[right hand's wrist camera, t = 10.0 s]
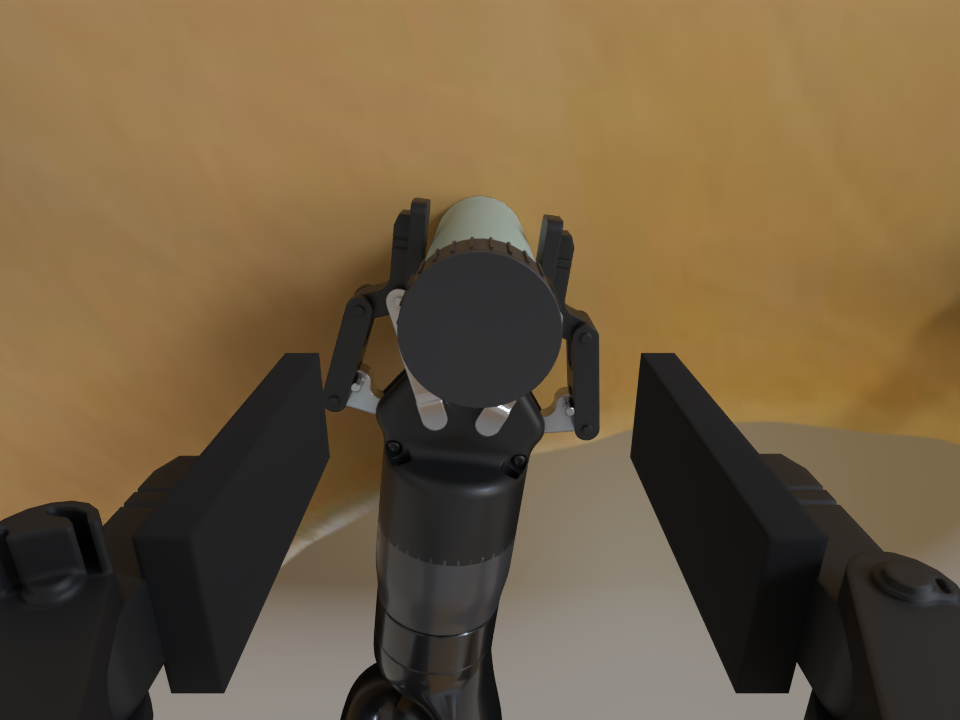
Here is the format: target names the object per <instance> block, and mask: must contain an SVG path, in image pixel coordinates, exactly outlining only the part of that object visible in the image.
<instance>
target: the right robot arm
mask: <svg viewBox="0 0 960 720" xmlns="http://www.w3.org/2000/svg"><path fill="white" fill-rule="evenodd" d="M329 458H330V455H329V445H328V436H327V426H326V417H325V407H324V398H323V388H322V379H321V369H320V360H319V353H285V354H284V356H283V357H282V358H281V359H280V360H279V362H278V363H277V364H276V365H275V366H274V368H273V369H272V370H271V371H270V372H269V374H268V375H267V376H266V377H265V378H264V379H263V381H262V382H261V383H260V384H259V385H258V387H257V388H256V389H255V390H254V391H253V393H252V394H251V395H250V396H249V397H248V399H247V400H246V401H245V402H244V403H243V405H242V406H241V407H240V408H239V409H238V410H237V412H236V413H235V414H234V415H233V416H232V418H231V419H230V420H229V421H228V422H227V424H226V425H225V426H224V427H223V428H222V430H221V431H220V432H219V433H218V434H217V436H216V437H215V438H214V439H213V440H212V441H211V443H210V444H209V445H208V446H207V447H206V449H205V450H204V451H203V452H202V453H201V455H200V456H179V457H177V458H175V459H174V460H172V461H170V462H169V463H167V464H165V465H163V466H162V467H160V468H158V469H157V470H155V471H154V472H153V473H152V474H151V475H150V476H149V477H148V478H147V479H146V480H145V482H144V483H143V484H142V485H141V486H140V487H139V488H138V492H134V493H133V494H132V495H131V497H130V498H129V499H128V500H127V501H126V502H125V503H124V507H120V508H119V509H118V511H117V512H116V513H115V514H114V515H113V516H112V517H111V518H110V519H109V520H108V521H107V522H106V523H105V524H104V526H103V525H102V522H101V518H100V515H99V511H98V509H96V508H95V507H93V506H92V505H91V504H89V503H84V502H77V501H65V502H55V503H49V504H45V505H41V506H37V507H33V508H30V509H26V510H24V511H22V512H19V513H17V514H15V515H12V516H10V517H8V518H6V519H4V520H2V521H0V720H153V710H152V703H151V699H150V695H149V692H148V690H149V688H150V687H151V685H152V683H153V682H154V680H155V678H156V676H157V675H158V673H159V671H160V670H161V668H162V666H163V664H164V667H165V671H166V674H167V678H168V682H169V686H170V690H171V693H224V692H225V690H226V688H227V686H228V683H229V681H230V679H231V677H232V674H233V672H234V670H235V668H236V665H237V663H238V661H239V659H240V656H241V654H242V652H243V650H244V648H245V645H246V643H247V641H248V639H249V636H250V634H251V632H252V630H253V627H254V625H255V623H256V621H257V619H258V616H259V614H260V612H261V610H262V607H263V605H264V603H265V601H266V598H267V596H268V594H269V592H270V590H271V587H272V585H273V583H274V581H275V578H276V576H277V574H278V572H279V569H280V567H281V565H282V563H283V560H284V558H285V556H286V554H287V552H288V549H289V547H290V545H291V543H292V540H293V538H294V536H295V534H296V531H297V529H298V527H299V525H300V522H301V520H302V518H303V516H304V514H305V511H306V509H307V507H308V505H309V502H310V500H311V498H312V496H313V493H314V491H315V489H316V487H317V485H318V482H319V480H320V478H321V476H322V473H323V471H324V469H325V467H326V464H327V462H328V460H329ZM630 458H631V460H632V462H633V464H634V467H635V469H636V471H637V473H638V476H639V478H640V480H641V482H642V484H643V487H644V489H645V491H646V493H647V496H648V498H649V500H650V502H651V505H652V507H653V509H654V511H655V514H656V516H657V518H658V520H659V522H660V525H661V527H662V529H663V531H664V534H665V536H666V538H667V540H668V543H669V545H670V547H671V549H672V552H673V554H674V556H675V558H676V560H677V563H678V565H679V567H680V569H681V572H682V574H683V576H684V578H685V581H686V583H687V585H688V587H689V590H690V592H691V594H692V596H693V598H694V601H695V603H696V605H697V607H698V610H699V612H700V614H701V616H702V618H703V621H704V623H705V625H706V627H707V630H708V632H709V634H710V636H711V639H712V641H713V643H714V645H715V648H716V650H717V652H718V654H719V657H720V659H721V661H722V663H723V665H724V668H725V670H726V672H727V674H728V677H729V679H730V681H731V683H732V686H733V688H734V690H735V692H736V693H789V690H790V686H791V682H792V678H793V674H794V671H795V667H796V663H798V665H799V666H800V668H801V670H802V671H803V673H804V675H805V677H806V678H807V680H808V682H809V683H810V685H811V687H812V692H811V695H810V699H809V703H808V706H807V710H806V713H805V717H804V720H960V588H959V587H958V586H957V585H956V584H955V583H954V582H953V581H951V580H950V579H949V578H947V577H946V576H945V575H943V574H942V573H941V572H939V571H938V570H936V569H934V568H932V567H930V566H928V565H926V564H924V563H922V562H920V561H918V560H916V559H912V558H909V557H906V556H902V555H899V554H896V553H891V552H884V551H883V550H882V549H881V548H880V547H879V546H878V545H877V544H876V543H875V542H874V541H873V540H872V539H871V538H870V536H869V535H868V534H867V533H866V532H865V531H864V530H863V529H862V528H861V527H860V526H859V525H858V524H857V523H856V522H855V520H854V519H853V518H852V517H851V516H850V515H849V514H848V513H847V512H846V511H845V510H844V509H843V508H842V507H841V506H840V505H837V504H836V500H835V499H834V498H833V497H832V496H831V495H830V494H829V493H828V492H827V491H826V490H823V487H822V485H821V484H820V483H819V482H818V481H817V480H816V479H815V478H814V477H813V476H812V475H811V474H810V473H809V471H808V470H807V469H805V468H804V467H802V466H800V465H799V464H797V463H795V462H794V461H792V460H790V459H789V458H787V457H785V456H783V455H782V454H759V453H758V452H757V451H756V450H755V449H754V447H753V446H752V445H751V444H750V443H749V442H748V440H747V439H746V438H745V437H744V436H743V434H742V433H741V432H740V431H739V430H738V428H737V427H736V426H735V425H734V424H733V422H732V421H731V420H730V419H729V418H728V416H727V415H726V414H725V413H724V412H723V410H722V409H721V408H720V407H719V406H718V405H717V403H716V402H715V401H714V400H713V399H712V397H711V396H710V395H709V394H708V393H707V391H706V390H705V389H704V388H703V387H702V385H701V384H700V383H699V382H698V381H697V379H696V378H695V377H694V376H693V375H692V374H691V372H690V371H689V370H688V369H687V368H686V366H685V365H684V364H683V363H682V362H681V360H680V359H679V358H678V357H677V356H676V354H675V353H641V360H640V369H639V379H638V388H637V398H636V407H635V417H634V426H633V436H632V446H631V455H630Z"/></svg>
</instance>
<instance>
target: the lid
mask: <svg viewBox="0 0 960 720" xmlns="http://www.w3.org/2000/svg"><path fill="white" fill-rule="evenodd" d="M406 289H408V290H405V292H404V294H403V297H402V299H401V301H400V303H399V306H401V308H400V311H399V316H398V319H397V321H396V324H397V337H398V344H399V349H400V352H401V355H402V358H403V360H404V362H405V364H406V366H407V368H408V370H409V371H410V372H411V374H412V375H413V377H414V378H415V379H416V380H417V381H418V382H419V383H420V385H422V386H423V387H424V388H425V389H426V390H427V391H429V392H430V393H432V394H433V395H435V396H436V397H438V398H440V399H442V400H444V401H446V402H449V403H452V404H455V405H459V406H463V407H469V408H490V407H497V406H501V405H505V404H508V403H510V402H513V401H516V400H518V399H519V398H521V397H523V396H525V395H526V394H528V393H529V392H531V391H532V390H533V389H534V388H536V387H537V386H538V385H539V384H540V383H541V382H542V381H543V380H544V378H545V377H546V376H547V375H548V373H549V372H550V370H551V369H552V367H553V365H554V363H555V361H556V359H557V357H558V353H559V350H560V347H561V341H562V328H563V323H562V318H561V313H560V310H561V306H560V303H559V301H558V299H557V296H556V294H555V293H553V292H555V290H554V287H553V285H552V283H551V281H550V278H549V277H546V276H545V274H544V273H543V270H542V268H541V265H540V263H539V262H537V263H536V262H535V261H534V260H533V259H532V258H531V257H529V256H528V254H527V251H525V250H524V251H521V250H520V249H518V248H516V247H514V246H512V245H511V243H510V242H507V243H505V242H501V241H497V240H493V238H492V237H489V239H485V238H477V239H474V237H470V239H467V240H462V241H458V242H456V241H455V240H454V241H452V244H450V245H447V246H445V247H443V248H442V249H440V250H439V248H437V249H436V250H435V253H434V254H433V255H431V256H430V257H429V258H428V259H427V260H426V261H425V260H423V261H422V262H421V265H420V267H419V269H418V271H417V272H416V273H415V274H412V276H411V278H410V280H409V282H408V285H407V287H406Z"/></svg>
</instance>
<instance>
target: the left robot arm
mask: <svg viewBox="0 0 960 720" xmlns="http://www.w3.org/2000/svg"><path fill="white" fill-rule="evenodd" d="M429 214H430V199H423V198H414V199H413V201H412V203H411V210H404V209H403V210H402V211H401V213H400V214H399V216H398V218H397V220H396V222H395V224H394V232H393V248H392V260H391V274H390V280H388V281H387V282H385V283H382V284H377V285H369V284H366V285H362V286H360V287H359V288H358V289H357V291H356V292H355V295H354V297H352V298H351V299H350V300H349V302H348V303H347V305H346V309H345V312H344V316H343V320H342V324H341V327H340V331H339V335H338V339H337V342H336V346H335V350H334V354H333V357H332V361H331V365H330V369H329V373H328V376H327V380H326V384H325V388H324V391H323V398H324V407H325V408H326V409H327V410H329V411H332V412H339V411H341V410H343V409H344V408H345V406H349V407H352V408H355V409H359V410H362V411H365V412H369V413H372V414H376V419H377V421H378V423H379V425H380V427H381V429H382V432H383V435H384V450H383V463H382V477H381V490H380V503H379V517H378V531H377V543H376V569H377V578H378V590H377V602H376V615H375V628H374V655H375V658H376V662H377V663H375V664H373V665H372V666H370V667H369V668H367V669H366V670H365V671H364V672H363V673H362V674H361V675H360V676H359V677H358V678H357V680H356V681H355V683H354V684H353V686H352V688H351V689H350V692H349V694H348V696H347V699H346V702H345V705H344V708H343V711H342V715H341V719H340V720H502V715H501V707H500V701H499V696H498V691H497V687H496V682H495V676H494V671H493V663H492V654H491V646H492V640H493V634H494V628H495V622H496V617H497V611H498V605H499V600H500V596H501V593H502V590H503V587H504V585H505V582H506V579H507V576H508V572H509V568H510V563H511V557H512V551H513V546H514V540H515V535H516V529H517V523H518V518H519V512H520V506H521V500H522V495H523V490H524V484H525V478H526V473H527V467H528V461H529V457H530V454H531V451H532V450H533V448H534V447H535V445H536V444H537V443H538V442H539V441H540V440H541V438H542V436H543V434H544V433H553V432H568V431H575V434H576V435H577V437H578V438H580V439H582V440H591V439H593V438H595V437H596V436H597V435H598V433H599V335H598V332H597V330H596V328H595V327H594V325H593V323H592V321H591V319H590V318H589V316H588V314H587V313H585V312H584V311H577V310H575V309H573V308H571V307H569V306H568V305H566V304H565V296H566V290H567V285H568V279H569V274H570V268H571V263H572V257H573V252H574V244H573V239H572V236H571V234H570V233H569V232H568V231H566V230H563V220H562V219H561V218H560V217H559V216H552V215H544V216H543V220H542V226H541V232H540V238H539V245H538V251H537V257H536V263H537V262H539V263H540V265H541V268H542V270H543V273H544V274H545V276H546V277H549V278H550V281H551V283H552V285H553V287H554V290H555V292H553V293H555V294H556V296H557V299H558V301H559V303H560V306H561V310H560V313H561V318H562V323H563V328H562V338H564V339H566V346H567V383H568V387H563V388H560V389H559V390H558V391H557V392H556V393H555V395H554V401H553V403H552V404H551V405H550V406H549V407H548V408H545V409H541V407H540V406H539V404H538V402H537V400H536V399H535V397H534V395H533V393H532V392H529V393H528V394H526V395H525V396H523V397H521V398H519V399H518V400H516V401H513V402H510V403H508V404H505V405H501V406H497V407H490V408H469V407H463V406H459V405H455V404H452V403H449V402H446V401H444V400H442V399H440V398H438V397H436V396H435V395H433V394H432V393H430V392H429V391H427V390H426V389H425V388H424V387H423V386H422V385H420V383H419V382H418V381H417V380H416V379H415V378H414V377H413V375H412V374H411V372H410V371H409V370H408V368H407V366H406V364H405V362H404V360H403V358H402V360H403V363H404V366H405V369H404V370H403V371H402V372H401V373H400V374H399V375H398V376H397V377H396V378H395V379H394V380H393V381H392V382H391V383H390V384H389V385H388V387H387V388H386V389H385V390H384V391H381V390H379V389H378V388H377V387H376V386H375V385H374V382H373V377H374V373H373V370H372V369H371V368H370V367H369V366H368V365H366V364H363V363H362V361H363V358H364V354H365V351H366V347H367V344H368V340H369V337H370V333H371V330H372V326H373V323H374V319H375V318H377V317H381V316H386V315H390V317H391V320H392V323H393V326H394V329H395V332H396V335H397V324H396V321H397V319H398V316H399V311H400V308H401V306H399V303H400V301H401V299H402V297H403V294H404V292H405V290H408V289H406V287H407V285H408V282H409V280H410V278H411V276H412V274H415V273H416V272H417V271H418V269H419V267H420V265H421V262H422V261H423V260H425V257H426V246H427V235H428V225H429ZM397 338H398V337H397ZM398 346H399V344H398ZM399 351H400V349H399ZM400 354H401V352H400ZM401 357H402V355H401Z"/></svg>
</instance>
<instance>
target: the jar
mask: <svg viewBox="0 0 960 720" xmlns="http://www.w3.org/2000/svg"><path fill="white" fill-rule="evenodd" d="M470 237H474V239H477V238H485V239H489V237H492V238H493V240H497V241H501V242H505V243H507V242H510V243H511V245H512V246H514V247H516V248H518V249H520V250H521V251H524V250H525V251H527V254H528V256H529V257H531V258H532V259H533V260H534V257H533V255H532V252H531V250H530V247H529V244H528V242H527V239H526V237H525V234H524V232H523V229H522V227H521V224H520V222H519V220H518V218H517V216H516V215H515V213H514V212H513V211H512V210H511V209H510V208H509V207H508V206H507V205H505V204H504V203H502V202H501V201H499V200H496V199H494V198H490V197H484V196H475V197H469V198H466V199H463V200H461V201H459V202H457V203H456V204H454V205H453V206H452V207H451V208H450V209H449V210H448V211H447V212H446V213H445V214H444V216H443V217H442V219H441V221H440V223H439V226H438V228H437V231H436V233H435V236H434V238H433V241H432V244H431V246H430V249H429V251H428V254H427V256H426V259H425V261H426V260H427V259H428V258H429V257H430V256H431V255H433V254H434V253H435V250H436V249H437V248H439V250H440V249H442V248H443V247H445V246H447V245H450V244H452V241H454V240H455V241H456V242H458V241H462V240H467V239H470ZM534 261H535V260H534Z"/></svg>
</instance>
